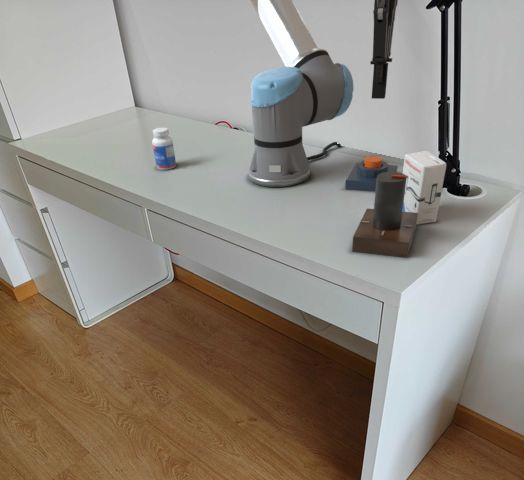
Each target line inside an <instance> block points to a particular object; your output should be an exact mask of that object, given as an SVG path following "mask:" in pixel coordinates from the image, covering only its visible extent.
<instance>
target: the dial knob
mask: <svg viewBox="0 0 524 480" xmlns="http://www.w3.org/2000/svg"><path fill="white" fill-rule="evenodd" d="M406 179H407V176H406V175H405V174H403V172H399V171H397V172H384V173H380V174H378V175H377V179H376V190H375V192H374V203H373V209H374V213H373V226H374V227H376V228H378V229H382V230H394V229H397V228H399V227H400V226H401V219H402V211H403V203H404V195H405V187H406Z"/></svg>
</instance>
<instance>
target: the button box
mask: <svg viewBox="0 0 524 480" xmlns="http://www.w3.org/2000/svg"><path fill="white" fill-rule="evenodd" d="M364 163H365V160H363V161H360V162H356V163H355V165H354V166H353V168H352V170H351V171H350V173H349V175H348V176H347V178H346V179H345V190H351V191H361V192H362V191H363V192H373V193H375V190H376V179H377V175H378V174H380V173H384V172H398V167H399V166H398V164H388V162H386V161H383V160H382V167H380V168H367V167H364Z"/></svg>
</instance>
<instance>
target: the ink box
mask: <svg viewBox="0 0 524 480" xmlns="http://www.w3.org/2000/svg"><path fill="white" fill-rule="evenodd" d="M402 167H403V168H402V174H405V175H406V176H407V179H406V187H405V195H404V203H403V211H402V212H413V213H418V216H417V223H416V226H418V225H423V224H429V223H436V222H437V219H438V213H439V209H440V208H439V207H440V203H441V202H440V201H441V198H442V197H441V196H442V191H443V186H444V181H445V176H446V170H447V162H445V161H444V160H442V159H441V158H439V157H438V156H436V155H435V154H434V153H432V152H430V151H429V150H422V151H417V152H410V153H405V154H404V160H403V166H402Z"/></svg>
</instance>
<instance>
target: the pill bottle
mask: <svg viewBox="0 0 524 480" xmlns="http://www.w3.org/2000/svg"><path fill="white" fill-rule="evenodd" d="M152 135H153V139H152V140H151V144H152V151H153V155H154V160H155V161H154V162H155V166H156V168H157V169H158V170H161V171H167V170H171V169H174V168H176V166H177V161H176V154H175V148H174V142H173V138H172V137H171V136H169V135H170V132H169V128H168V127H156V128H154V129H152Z"/></svg>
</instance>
